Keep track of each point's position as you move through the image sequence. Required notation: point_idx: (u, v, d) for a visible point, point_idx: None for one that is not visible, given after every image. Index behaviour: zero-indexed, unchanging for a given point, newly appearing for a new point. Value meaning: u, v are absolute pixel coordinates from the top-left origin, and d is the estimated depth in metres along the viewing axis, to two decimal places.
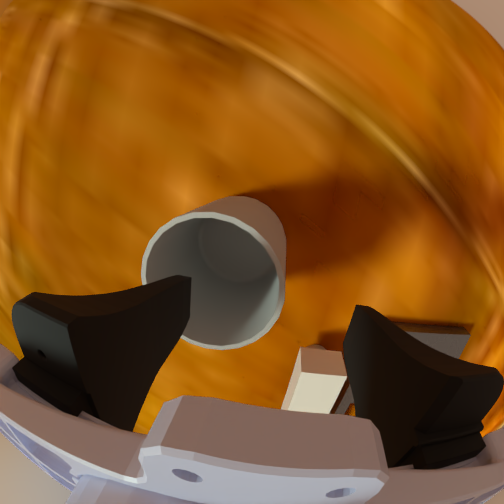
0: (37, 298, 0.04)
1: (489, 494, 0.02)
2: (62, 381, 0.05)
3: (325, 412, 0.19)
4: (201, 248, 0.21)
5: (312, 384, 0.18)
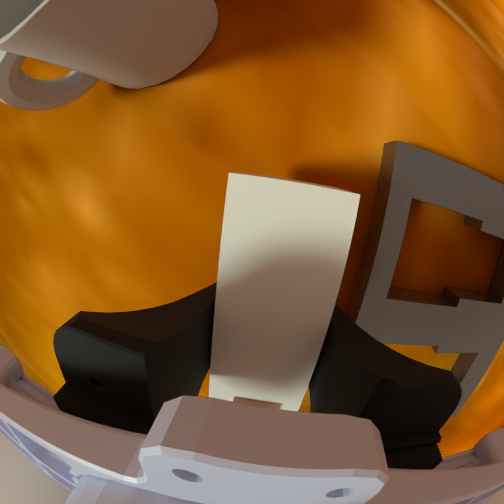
0: (91, 321, 0.04)
1: (489, 494, 0.02)
2: (120, 410, 0.04)
3: (314, 335, 0.08)
4: None
5: (266, 219, 0.07)
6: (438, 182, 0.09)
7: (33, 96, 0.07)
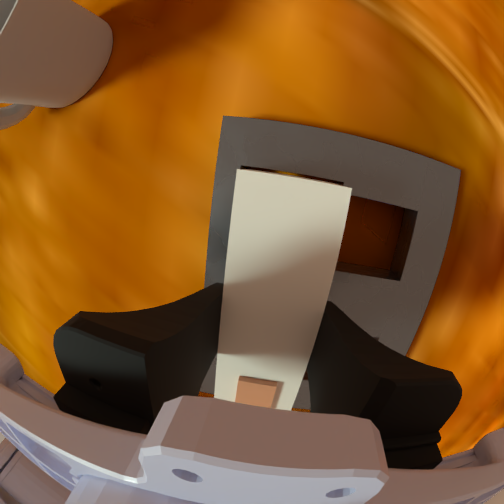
0: (91, 321, 0.04)
1: (489, 494, 0.02)
2: (120, 410, 0.04)
3: (312, 315, 0.09)
4: None
5: (269, 209, 0.08)
6: (272, 146, 0.11)
7: None
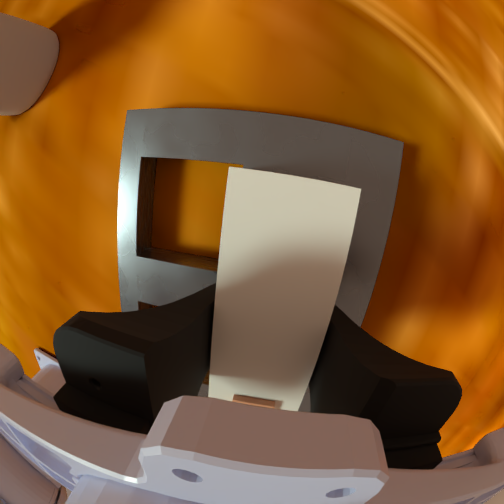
0: (90, 321, 0.04)
1: (489, 494, 0.02)
2: (120, 410, 0.04)
3: (315, 331, 0.08)
4: None
5: (266, 213, 0.07)
6: (168, 134, 0.10)
7: None
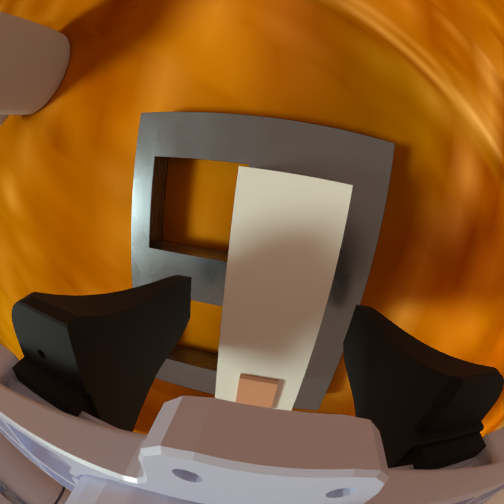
0: (37, 298, 0.04)
1: (489, 494, 0.02)
2: (62, 381, 0.05)
3: (314, 312, 0.09)
4: None
5: (271, 206, 0.08)
6: (180, 136, 0.11)
7: None
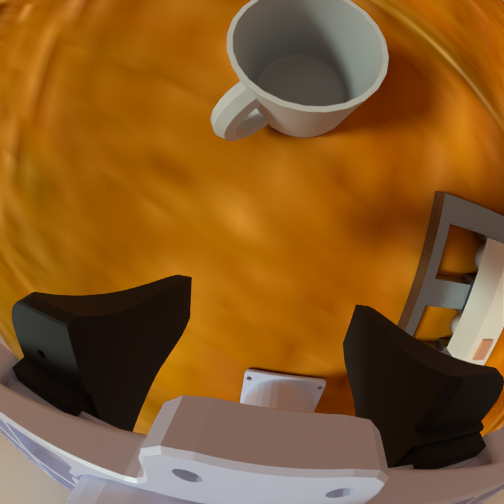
0: (37, 298, 0.04)
1: (489, 494, 0.02)
2: (62, 381, 0.05)
3: None
4: None
5: None
6: (463, 215, 0.16)
7: (239, 132, 0.14)
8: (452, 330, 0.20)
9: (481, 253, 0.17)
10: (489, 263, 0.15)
